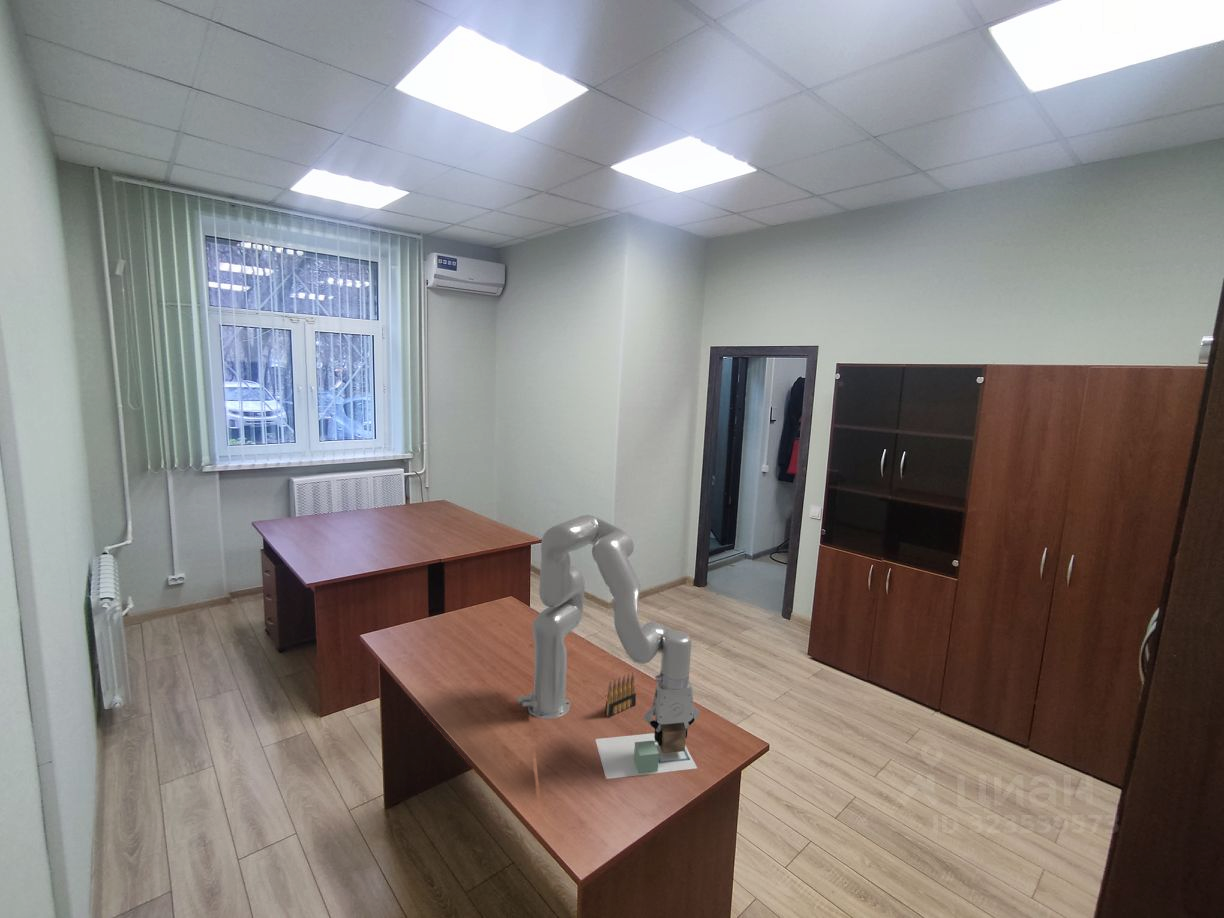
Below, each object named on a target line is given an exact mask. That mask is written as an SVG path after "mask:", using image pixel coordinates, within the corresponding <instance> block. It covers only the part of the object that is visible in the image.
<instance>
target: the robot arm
mask: <svg viewBox="0 0 1224 918" xmlns="http://www.w3.org/2000/svg"><path fill="white" fill-rule="evenodd" d="M540 544H541V545H540V552H541V553H540V555H541V557H540V560H541V561H540V572H539V573H540V575H539V588H538V589H539V599H540V601H541V603H542V604H543V605H544V606H546V608H545V609H544V610H542V611H541V612H539V613H538V614H537V615H536V616H535V618H534V619H533V622H532V629H531V630H532V636H533V642H534V671H533V672H534V673H533V674H534V675H533V690H532V691H531V694H528V695H520V696H518V697H517V703H518V704H522V708H527V710H528V714H530V716H531V717H532V716H534V717H537V718H539V719H542V720H543V719H544V720H551V719H552V720H553V719H557V718H560V717H562V716H564V715H566V714H568V712H569V710H570V708H571V703H570V700H569V699H568V698H567V697H566V693H567V691H566V689H567V687H566V686H567V662H568V660H567V659H568V658H567V657H568V652H567V647H566V645H565V641H564V639H565V636H567V635H568V634H569V633H570V632H572V631H573V630H574V629H575V628H577V627H578V626H579V625H580V623H581V622H582V619H583V615H584V603H585V589H586V587H585V585H586V584H585V579H584V575H583V573H582V572H581V570H580V569H579V568H578V567H577V566H574V565H571V556H570V553H569V552H573V551H574V552H575V551H576V550H579V549H582V548H584V547H586V546H588V545H592V549H591V553H592V559H593V561H594V562H595V564H596V566H597V569H598V571H599V573H600V575H601V577H602V579H603V582H604V584H605V585H606V587H607V590H608V591H609V593H610V594H609V595H610V596H611V599H612V614H613V615H612V616H613V624H614V628H615V631H616V634H617V637H618V639H619V641H620V643H621V645H622V647H623V650H624V651H625V653H626V654H627V656H628V658H630V660H632V661H633V662H634V663H636V664H638V665H645V664H647V663H650V662H651V661H652V660H653V659H654V658H655V657H656V656H657V654H659V653H661V657H660V658H661V660H660V661H661V663H660V670H659V674H657V675H655V676H654V679H655V682H657V684H656V687H655V692H654V695H653V696H654V697H653V703H652V707H650V709H649V710H648V711H647V712H646V713H645V714H644V715H643V718H644V720H645V721H646V722H647V723H648V724H649V725H650V727H652V728H653V729H654V733H655V734H654V738H655V741H657V743H658V745H659V746H661V745H662V731H661V729H662V726H663V724H675V723H682V724H683V725H684V727H685V729H686V740H685V742H686V741H687V737H688V730H689V729H690V726H691V725H692V724H693V723H694V722H695V720H696V719H697V718H699V716H700V715H701V713H700V711H699V709H698V708H696V707H695V706H694V696H693V695H694V694H693V685H692V683H691V682H690V666H691V657H692V656H691V655H692V654H691V653H692V638H691V636H690V635H689V634H688V633H687V632H684V631H682V630H674V629H672V628H670V627H667V626H666V625H663V624H662V623H659V622H657V621H649V622H646V623H645V624H644V625H643V626H641V623H640V620H639V615H638V603H639V602H638V601H639V598H640V594H641V582H640V580H639V579H638V577H637V575H636V572H635V571H634V569H633V566H632V564H631V562H630V560H629V558H630V556H632V554H633V553H634V548H635V545H634V540H633V539H632V537H631V536H630V535H629V534H628V532H626V531H624V530H622V529H621V528H619V527H617V526H616V525H613V524H611V523H609V522H606V521H605V520H603V519H601V518H598V517H597V516H594V515H589V514H584V515H580V516H578V517H575V518H572V519H569V520H567V521H564V522H561V523H559V524H556V525H554V526H551V527H550V528H549V529H547V530H546V531H545V532H544V534H543V535H542V538H541V543H540ZM654 716H655V717H654ZM653 717H654V718H653Z"/></svg>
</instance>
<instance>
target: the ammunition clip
mask: <svg viewBox="0 0 1224 918" xmlns="http://www.w3.org/2000/svg"><path fill="white" fill-rule="evenodd" d="M636 702H637V693H636V673H635V671H634V670H633V671H632V672H631V674H630V673H629V672H628V673H627V676H626V675H625V674H624V675H623V678H622V677H621V676H619V677H618V681H617V678H615V679H613V681H612V680H609V683H608V691H607V699H606V702H605V710H604V711H605V712H604V713H605V714H604V715H605V716H606V717H607V718H612V717H613V716H616V715H618V714H620V713H623V712H625V711H626V710H629V709H631V708H633V707H635V706H636Z"/></svg>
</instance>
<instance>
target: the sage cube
mask: <svg viewBox="0 0 1224 918" xmlns="http://www.w3.org/2000/svg"><path fill="white" fill-rule="evenodd" d="M658 761H659V752H658V750H657V748H656V746H655V743H654V741H643V742H635V748H634V762H635V764H636V767H637V770H638V773H639V774H640V773H648V772H657V771H658Z"/></svg>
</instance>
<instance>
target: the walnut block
mask: <svg viewBox="0 0 1224 918" xmlns="http://www.w3.org/2000/svg"><path fill="white" fill-rule="evenodd" d="M661 731H662V745H661V746H660V748H661V750H662V752H663V753H672V752H681V751H685V745H686V741H687V738H686V729H685V727H684V725H683V724H682V723H675V724H663V726H662V729H661ZM685 740H686V741H685Z"/></svg>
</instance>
